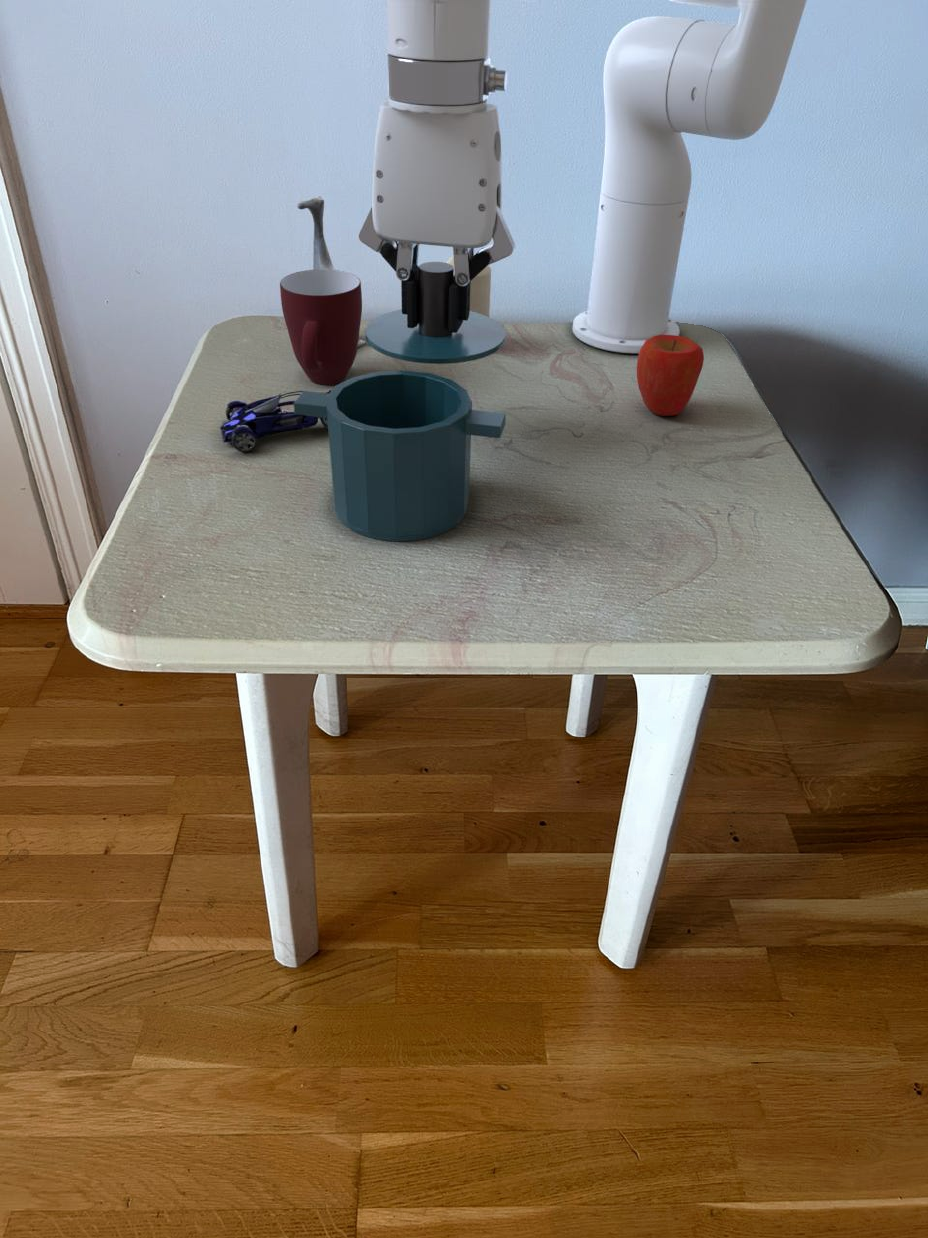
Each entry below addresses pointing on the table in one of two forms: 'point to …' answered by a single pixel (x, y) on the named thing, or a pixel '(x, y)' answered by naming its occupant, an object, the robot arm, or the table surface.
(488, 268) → the candle
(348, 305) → the mug
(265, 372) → the table surface
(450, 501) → the pot
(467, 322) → the lid
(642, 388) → the apple
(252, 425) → the toy car
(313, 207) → the figurine
